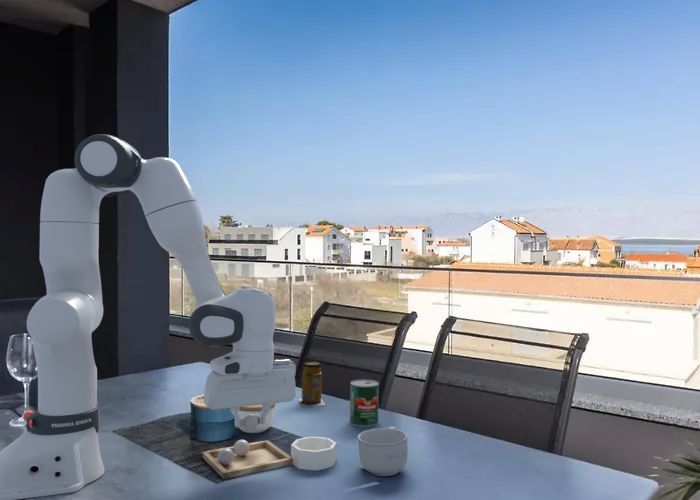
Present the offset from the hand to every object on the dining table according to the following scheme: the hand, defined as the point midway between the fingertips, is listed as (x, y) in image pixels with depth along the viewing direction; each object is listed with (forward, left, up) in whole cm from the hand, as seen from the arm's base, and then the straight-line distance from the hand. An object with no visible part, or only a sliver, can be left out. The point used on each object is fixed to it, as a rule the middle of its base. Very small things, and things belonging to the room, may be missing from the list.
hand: (249, 425), depth 126 cm
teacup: (+26, -15, -10) cm, 31 cm away
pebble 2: (+1, +7, -9) cm, 11 cm away
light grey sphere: (0, 0, -1) cm, 1 cm away
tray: (+1, +3, -10) cm, 10 cm away
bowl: (+13, -5, -10) cm, 17 cm away
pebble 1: (-4, +3, -9) cm, 10 cm away
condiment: (+37, +40, -10) cm, 55 cm away
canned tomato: (+40, +15, -10) cm, 44 cm away
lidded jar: (+11, +23, -10) cm, 27 cm away
